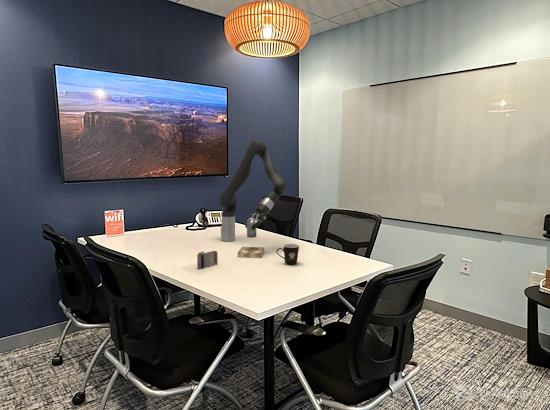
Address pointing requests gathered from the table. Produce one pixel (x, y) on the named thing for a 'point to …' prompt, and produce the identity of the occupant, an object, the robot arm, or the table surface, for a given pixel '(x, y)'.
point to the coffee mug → (290, 253)
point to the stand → (251, 252)
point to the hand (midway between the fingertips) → (249, 228)
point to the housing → (250, 232)
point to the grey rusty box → (207, 259)
